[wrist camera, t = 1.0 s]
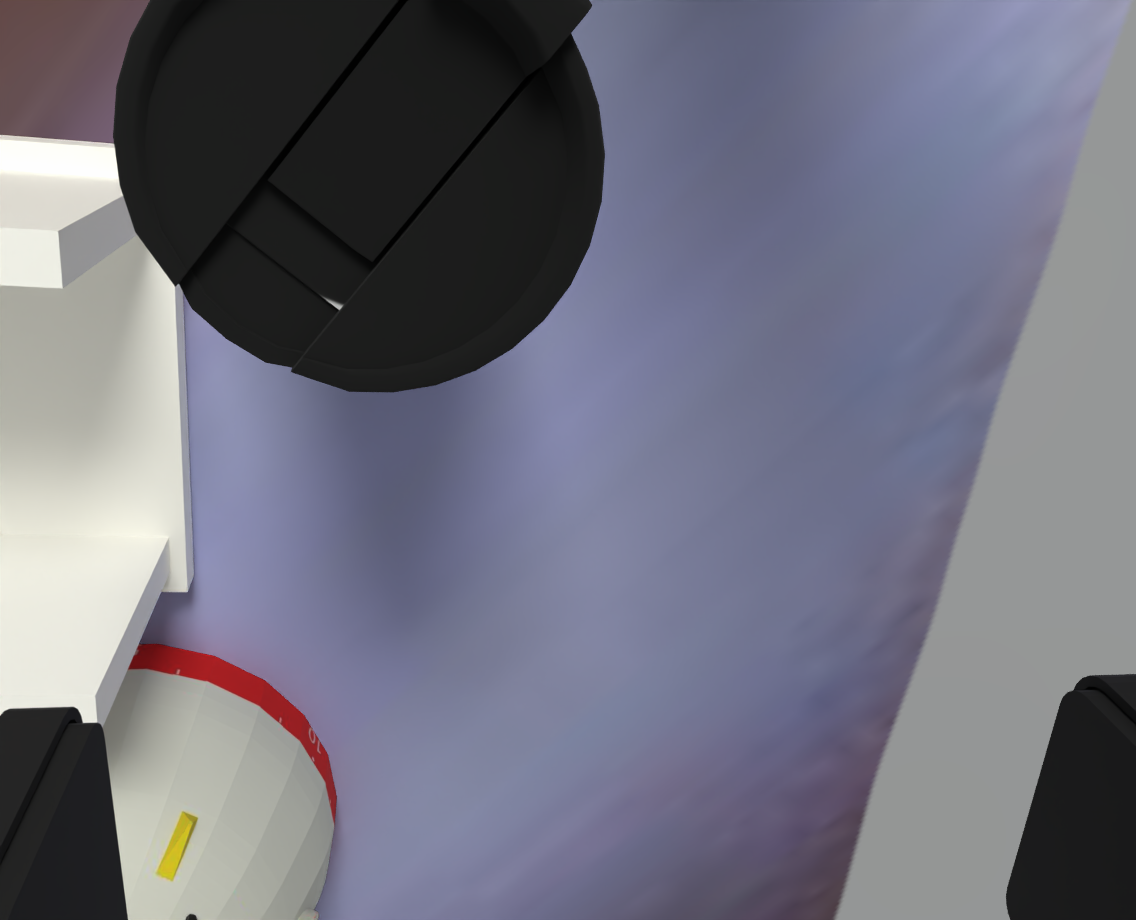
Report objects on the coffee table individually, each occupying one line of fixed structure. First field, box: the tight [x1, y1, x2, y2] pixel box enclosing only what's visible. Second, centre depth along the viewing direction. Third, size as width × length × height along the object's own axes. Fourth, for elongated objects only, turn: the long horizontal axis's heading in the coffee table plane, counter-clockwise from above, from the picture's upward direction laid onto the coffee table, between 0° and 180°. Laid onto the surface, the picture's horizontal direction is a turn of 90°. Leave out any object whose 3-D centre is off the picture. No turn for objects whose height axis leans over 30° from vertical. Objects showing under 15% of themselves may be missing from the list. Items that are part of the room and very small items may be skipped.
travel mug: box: [113, 0, 605, 392], centre depth 22 cm, size 6×7×20 cm
